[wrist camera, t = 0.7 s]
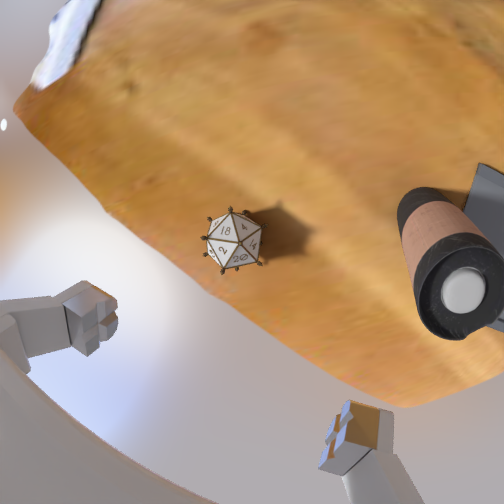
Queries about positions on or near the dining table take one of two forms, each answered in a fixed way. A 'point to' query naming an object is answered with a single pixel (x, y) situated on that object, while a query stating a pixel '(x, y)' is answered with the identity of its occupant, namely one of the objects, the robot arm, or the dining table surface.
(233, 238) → the game die
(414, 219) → the travel mug
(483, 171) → the tray
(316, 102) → the dining table surface
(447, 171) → the dining table surface
